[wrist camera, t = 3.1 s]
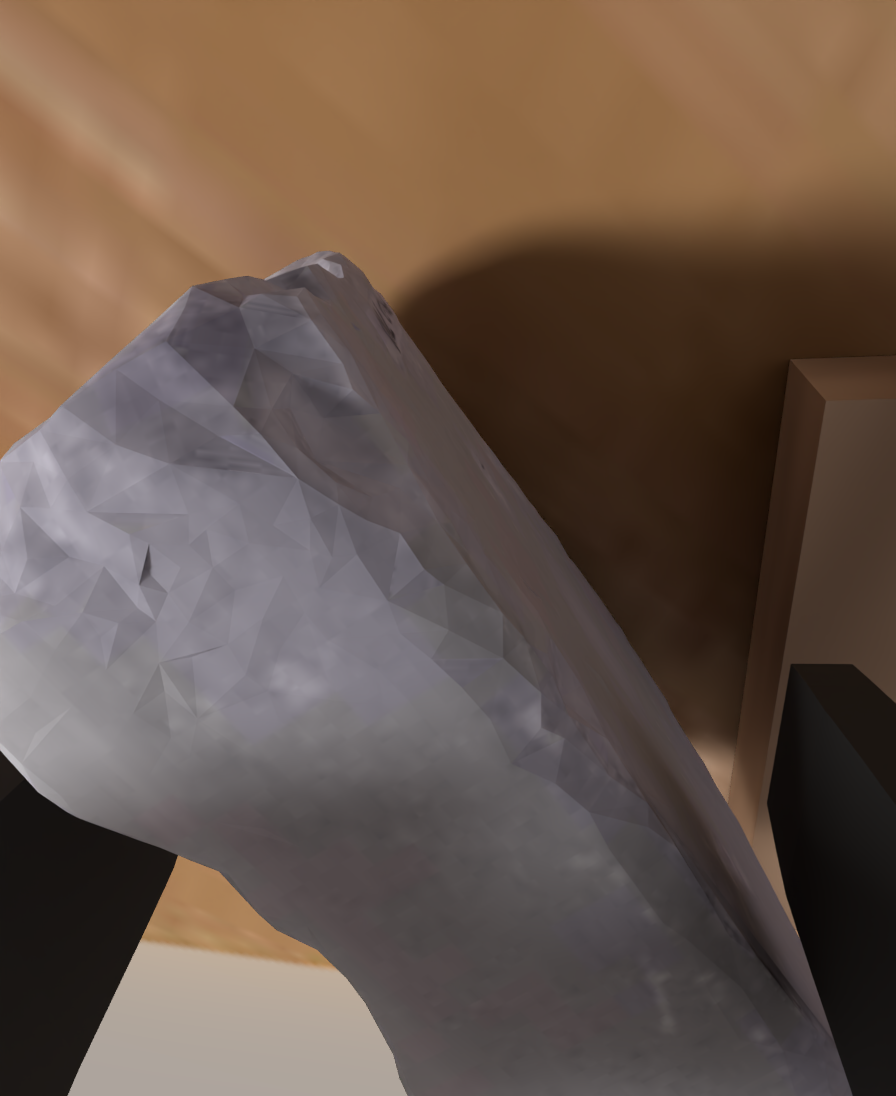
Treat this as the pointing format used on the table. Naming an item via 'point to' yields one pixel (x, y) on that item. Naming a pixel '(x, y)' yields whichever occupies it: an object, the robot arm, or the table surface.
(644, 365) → the table surface
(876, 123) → the table surface
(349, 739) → the stone block
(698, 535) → the table surface
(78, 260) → the table surface
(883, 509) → the walnut base
